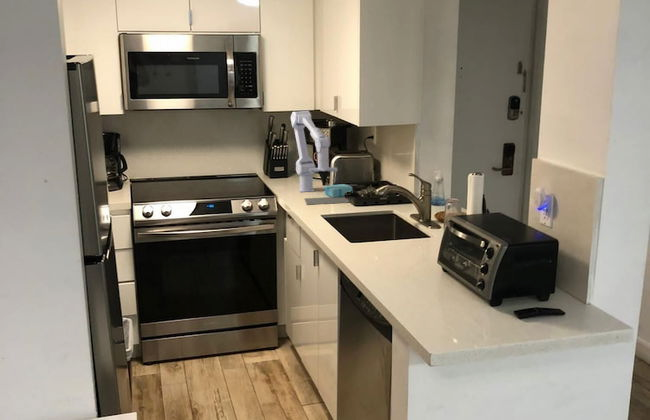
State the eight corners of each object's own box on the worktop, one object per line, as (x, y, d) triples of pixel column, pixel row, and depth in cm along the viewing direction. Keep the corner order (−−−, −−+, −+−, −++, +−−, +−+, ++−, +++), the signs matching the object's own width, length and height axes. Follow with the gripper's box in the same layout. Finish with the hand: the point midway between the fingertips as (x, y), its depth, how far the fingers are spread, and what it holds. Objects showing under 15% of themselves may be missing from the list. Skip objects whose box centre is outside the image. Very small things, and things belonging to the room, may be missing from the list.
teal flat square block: (333, 197, 352) (353, 195, 357) (332, 189, 351) (353, 187, 356) (324, 194, 363) (344, 191, 368) (323, 185, 362) (344, 183, 367)
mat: (304, 199, 353) (304, 198, 353) (345, 196, 355) (345, 196, 355) (306, 204, 339) (306, 204, 339) (349, 202, 342) (349, 202, 342)
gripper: (310, 161, 349) (311, 187, 352) (337, 160, 351) (338, 186, 354) (309, 159, 356) (309, 184, 359) (336, 158, 358) (336, 183, 361)
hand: (323, 185), depth 357 cm, fingers closed
